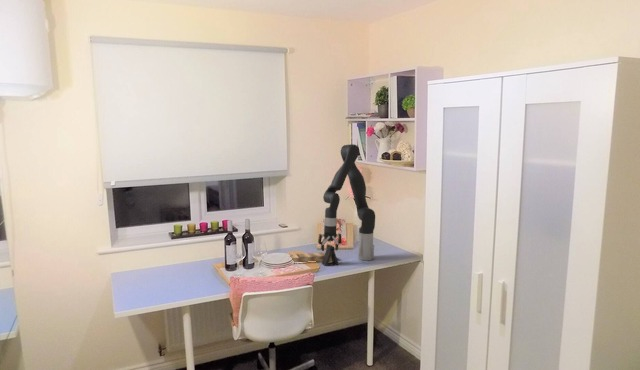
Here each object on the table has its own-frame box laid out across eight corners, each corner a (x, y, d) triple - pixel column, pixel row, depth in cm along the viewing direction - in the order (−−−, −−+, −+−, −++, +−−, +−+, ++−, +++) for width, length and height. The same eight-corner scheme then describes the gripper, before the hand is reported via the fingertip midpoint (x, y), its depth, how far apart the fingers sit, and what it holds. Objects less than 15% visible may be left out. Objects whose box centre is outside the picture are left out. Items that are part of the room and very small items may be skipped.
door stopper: (335, 262, 280) (335, 243, 279) (338, 265, 275) (339, 245, 273) (321, 263, 277) (321, 244, 276) (325, 266, 271) (325, 247, 270)
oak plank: (331, 257, 290) (331, 251, 290) (335, 261, 282) (335, 254, 282) (289, 260, 282) (289, 254, 282) (291, 264, 275) (291, 257, 274)
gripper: (339, 223, 279) (338, 248, 280) (317, 223, 275) (316, 249, 277) (343, 225, 272) (342, 251, 273) (320, 226, 268) (320, 252, 270)
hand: (329, 250), depth 275 cm, fingers open, 8 cm apart
